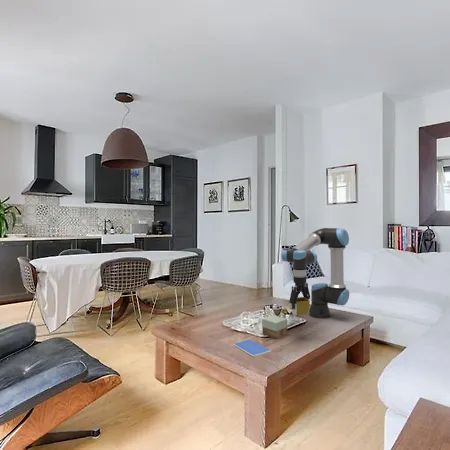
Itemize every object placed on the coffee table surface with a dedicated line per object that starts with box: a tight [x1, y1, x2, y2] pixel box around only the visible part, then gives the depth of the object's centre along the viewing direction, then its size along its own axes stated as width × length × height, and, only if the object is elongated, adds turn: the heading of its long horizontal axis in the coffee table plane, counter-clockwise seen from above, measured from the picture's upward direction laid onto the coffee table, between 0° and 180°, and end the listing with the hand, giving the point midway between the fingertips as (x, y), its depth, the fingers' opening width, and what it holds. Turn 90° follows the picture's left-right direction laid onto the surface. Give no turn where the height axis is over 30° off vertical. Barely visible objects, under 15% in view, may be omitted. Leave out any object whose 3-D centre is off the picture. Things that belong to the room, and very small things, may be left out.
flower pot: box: [296, 296, 311, 316], centre depth 196 cm, size 9×9×9 cm
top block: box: [261, 314, 288, 331], centre depth 203 cm, size 11×11×5 cm
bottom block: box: [261, 326, 288, 340], centre depth 203 cm, size 11×11×5 cm
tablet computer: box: [233, 339, 271, 358], centre depth 182 cm, size 19×13×1 cm, turn 33°
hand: (300, 312), depth 196 cm, fingers closed on flower pot, 11 cm apart
